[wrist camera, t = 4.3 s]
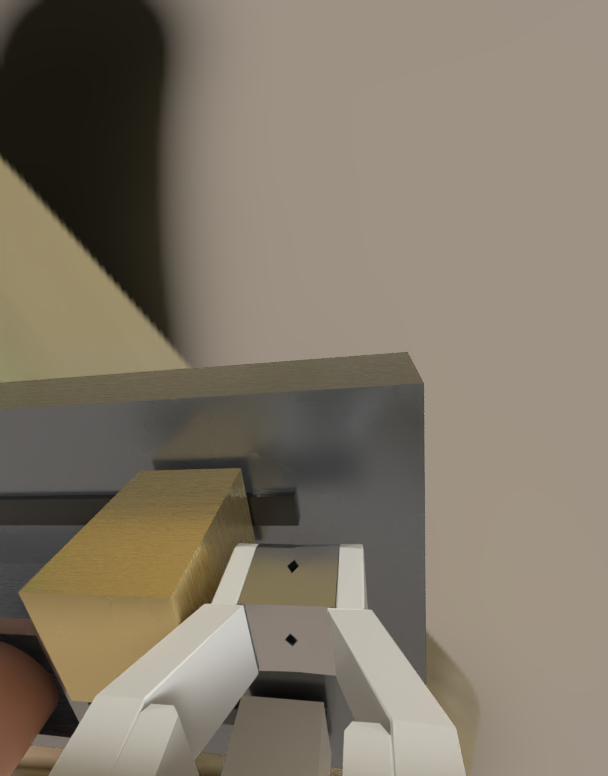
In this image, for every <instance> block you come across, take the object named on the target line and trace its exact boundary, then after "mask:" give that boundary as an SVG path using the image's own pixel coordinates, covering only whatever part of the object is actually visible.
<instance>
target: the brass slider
mask: <svg viewBox="0 0 608 776" xmlns="http://www.w3.org/2000/svg"><path fill="white" fill-rule="evenodd" d="M239 543H249V544H256V541H255V536H254V531H253V526H252V521H251V516H250V511H249V506H248V501H247V496H246V491H245V485H244V480H243V475H242V470H241V468H224V469H187V470H149V471H140V472H139V473H138V474H136V475H135V476H134V477H133V478H132V479H131V480H130V481H129V482H128V483H127V484H126V485H125V486H124V487H123V488H122V489H121V490H120V491H119V492H118V493H117V494H116V495H115V496H114V497H113V498H112V499H111V500H110V501H109V502H108V503H107V504H106V505H105V506H104V507H103V508H102V509H101V510H100V511H99V512H98V513H97V514H96V515H95V516H94V517H93V518H92V519H91V520H90V521H89V522H88V523H87V524H86V525H85V526H84V527H83V528H82V529H81V530H80V531H79V532H78V533H77V534H76V535H75V536H74V537H73V538H72V539H71V540H70V541H69V542H68V543H67V544H66V545H65V546H64V547H63V548H62V549H61V550H60V551H59V552H58V553H57V554H56V555H55V556H54V557H53V558H52V559H51V560H50V561H49V562H48V563H47V564H46V565H45V566H44V567H43V568H42V569H41V570H40V571H39V572H38V573H37V574H36V575H35V576H34V577H33V578H32V579H31V580H30V581H29V582H28V583H27V584H26V585H25V586H24V587H23V588H22V589H21V590H20V591H19V592H18V593H19V595H20V597H21V599H22V601H23V603H24V605H25V607H26V609H27V611H28V613H29V615H30V617H31V619H32V621H33V623H34V625H35V627H36V630H37V632H38V634H39V636H40V638H41V640H42V642H43V644H44V646H45V648H46V650H47V652H48V654H49V656H50V658H51V660H52V662H53V664H54V666H55V668H56V670H57V672H58V674H59V676H60V678H61V680H62V682H63V684H64V686H65V688H66V690H67V692H68V694H69V696H70V698H71V701H81V702H92V701H93V700H94V698H95V696H96V695H97V694H99V693H100V692H101V691H102V690H103V689H104V688H106V687H107V686H108V685H109V684H110V683H112V682H113V681H114V680H115V679H116V678H117V677H119V676H120V675H121V674H122V673H123V672H124V671H126V670H127V669H128V668H129V667H130V666H132V665H133V664H134V663H135V662H136V661H137V660H139V659H140V658H141V657H142V656H143V655H145V654H146V653H147V652H148V651H149V650H150V649H152V648H153V647H154V646H155V645H156V644H157V643H159V642H160V641H161V640H162V639H163V638H165V637H166V636H167V635H168V634H169V633H170V632H172V631H173V630H174V629H175V628H176V627H178V626H179V625H180V624H181V623H182V622H183V621H185V620H186V619H187V618H188V617H189V616H191V615H192V614H193V613H194V612H195V611H196V610H198V609H199V608H200V607H201V606H202V605H203V604H211V602H212V600H213V598H214V595H215V593H216V591H217V588H218V586H219V583H220V581H221V579H222V576H223V574H224V572H225V569H226V567H227V564H228V562H229V560H230V557H231V555H232V553H233V550H234V548H235V547H236V546H237V545H238V544H239Z"/></svg>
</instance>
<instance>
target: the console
mask: <svg viewBox="0 0 608 776" xmlns="http://www.w3.org/2000/svg"><path fill="white" fill-rule="evenodd" d="M224 468H241V470H242V475H243V480H244V485H245V491H246V496H247V501H248V506H249V511H250V516H251V521H252V526H253V531H254V536H255V541H256V544H260V543H265V544H295V545H298V544H362V545H363V549H364V562H365V576H366V590H367V604H368V610H372V611H373V612H374V613H375V615H376V616H377V618H378V619H379V621H380V622H381V623H382V625H383V626H384V628H385V629H386V630H387V632H388V633H389V635H390V636H391V637H392V639H393V640H394V642H395V643H396V644H397V646H398V647H399V649H400V650H401V651H402V653H403V654H404V656H405V657H406V658H407V660H408V661H409V663H410V664H411V665H412V667H413V668H414V670H415V671H416V673H417V674H418V675H419V677H420V678H421V680H422V681H423V682H424V684H425V685H426V623H425V622H426V612H425V476H424V475H425V472H424V383H423V381H422V379H421V377H420V375H419V373H418V371H417V369H416V367H415V365H414V363H413V362H412V360H411V358H410V356H409V354H408V352H401V353H388V354H375V355H362V356H349V357H336V358H323V359H310V360H296V361H283V362H270V363H258V364H244V365H230V366H218V367H205V368H191V369H178V370H165V371H152V372H139V373H125V374H112V375H99V376H86V377H73V378H60V379H47V380H34V381H21V382H7V383H0V641H2V642H5V643H7V644H10V645H12V646H14V647H16V648H18V649H19V650H21V651H23V652H25V653H26V654H28V655H29V656H31V657H32V658H33V659H34V660H36V661H37V662H38V663H39V664H40V665H41V666H42V667H43V668H44V669H45V670H46V671H47V672H48V673H49V675H50V676H51V677H52V679H53V681H54V682H55V684H56V687H57V689H58V693H59V700H58V704H57V707H56V708H55V710H54V711H53V713H52V714H51V716H50V717H49V719H48V720H47V722H46V723H45V725H44V726H43V728H42V729H41V731H40V732H39V734H38V735H37V737H36V738H35V740H34V741H33V743H32V744H31V745H37V746H46V747H54V748H63V749H64V748H65V747H66V745H67V743H68V742H69V740H70V738H71V737H72V735H73V733H74V732H75V730H76V728H77V727H78V725H79V723H80V722H81V720H82V718H83V717H84V715H85V713H86V712H87V710H88V708H89V706H90V705H91V703H92V702H81V701H71V698H70V696H69V694H68V692H67V690H66V688H65V686H64V684H63V682H62V680H61V678H60V676H59V674H58V672H57V670H56V668H55V666H54V664H53V662H52V660H51V658H50V656H49V654H48V652H47V650H46V648H45V646H44V644H43V642H42V640H41V638H40V636H39V634H38V632H37V630H36V627H35V625H34V623H33V621H32V619H31V617H30V615H29V613H28V611H27V609H26V607H25V605H24V603H23V601H22V599H21V597H20V595H19V593H18V592H19V591H20V590H21V589H22V588H23V587H24V586H25V585H26V584H27V583H28V582H29V581H30V580H31V579H32V578H33V577H34V576H35V575H36V574H37V573H38V572H39V571H40V570H41V569H42V568H43V567H44V566H45V565H46V564H47V563H48V562H49V561H50V560H51V559H52V558H53V557H54V556H55V555H56V554H57V553H58V552H59V551H60V550H61V549H62V548H63V547H64V546H65V545H66V544H67V543H68V542H69V541H70V540H71V539H72V538H73V537H74V536H75V535H76V534H77V533H78V532H79V531H80V530H81V529H82V528H83V527H84V526H85V525H86V524H87V523H88V522H89V521H90V520H91V519H92V518H93V517H94V516H95V515H96V514H97V513H98V512H99V511H100V510H101V509H102V508H103V507H104V506H105V505H106V504H107V503H108V502H109V501H110V500H111V499H112V498H113V497H114V496H115V495H116V494H117V493H118V492H119V491H120V490H121V489H122V488H123V487H124V486H125V485H126V484H127V483H128V482H129V481H130V480H131V479H132V478H133V477H134V476H135V475H136V474H138V473H139V472H140V471H149V470H187V469H224ZM258 673H259V674H258V675H257V676H256V678H255V679H254V681H253V682H252V683H251V685H250V686H249V687H248V689H247V690H246V692H245V693H244V694H243V696H255V697H267V698H279V699H291V700H303V701H315V702H324V708H325V715H326V722H327V728H328V735H329V742H330V749H331V767H334V768H343V748H344V730H345V729H346V728H347V727H348V726H349V725H350V723H351V722H352V721H355V719H354V716H353V714H352V712H351V710H350V707H349V705H348V703H347V701H346V699H345V696H344V694H343V692H342V690H341V687H340V685H339V683H338V681H337V678H336V676H334V675H324V674H314V673H303V672H287V671H258ZM240 700H241V698H240ZM240 700H239V701H238V702H237V704H236V705H235V707H234V708H233V709H232V711H231V712H230V713H229V715H228V716H227V718H226V719H225V720H224V722H223V723H222V724H221V726H220V727H219V729H218V730H217V731H216V733H215V734H214V735H213V737H212V738H211V739H210V741H209V742H208V744H207V745H206V746H205V748H204V749H203V750H202V752H201V753H210V754H218V755H226V754H227V750H228V746H229V742H230V738H231V734H232V731H233V727H234V723H235V719H236V715H237V712H238V708H239V704H240ZM355 722H356V721H355Z"/></svg>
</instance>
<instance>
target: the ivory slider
mask: <svg viewBox="0 0 608 776" xmlns="http://www.w3.org/2000/svg"><path fill="white" fill-rule="evenodd" d="M330 771H331V749H330V742H329V735H328V728H327V722H326V715H325V708H324V702H315V701H303V700H291V699H279V698H267V697H255V696H242V697H241V700H240V704H239V708H238V712H237V715H236V719H235V723H234V727H233V731H232V734H231V738H230V742H229V746H228V750H227V754H226V757H225V761H224V765H223V769H222V773H221V776H330Z"/></svg>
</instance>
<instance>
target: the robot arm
mask: <svg viewBox="0 0 608 776" xmlns="http://www.w3.org/2000/svg"><path fill="white" fill-rule="evenodd" d="M258 671H287V672H303V673H314V674H324V675H334V676H336V678H337V681H338V683H339V685H340V687H341V690H342V692H343V694H344V696H345V699H346V701H347V703H348V705H349V707H350V710H351V712H352V714H353V716H354V719H355V721H356V722H355V721H352V722H351V723H350V725H349V726H348V727H347V728H346V729H345V730H344V748H343V774H342V776H466V773H465V768H464V764H463V759H462V754H461V750H460V745H459V740H458V735H457V731H456V727H455V726H454V725H453V723H452V722H451V720H450V719H449V717H448V716H447V715H446V713H445V712H444V710H443V709H442V708H441V706H440V705H439V703H438V702H437V701H436V699H435V698H434V696H433V695H432V694H431V692H430V691H429V689H428V688H427V687H426V685H425V684H424V682H423V681H422V680H421V678H420V677H419V675H418V674H417V673H416V671H415V670H414V668H413V667H412V665H411V664H410V663H409V661H408V660H407V658H406V657H405V656H404V654H403V653H402V651H401V650H400V649H399V647H398V646H397V644H396V643H395V642H394V640H393V639H392V637H391V636H390V635H389V633H388V632H387V630H386V629H385V628H384V626H383V625H382V623H381V622H380V621H379V619H378V618H377V616H376V615H375V613H374V612H373V611H372V610H368V604H367V590H366V576H365V562H364V549H363V545H362V544H298V545H295V544H265V543H260V544H249V543H239V544H238V545H237V546H236V547H235V548H234V550H233V553H232V555H231V557H230V560H229V562H228V564H227V567H226V569H225V572H224V574H223V576H222V579H221V581H220V583H219V586H218V588H217V591H216V593H215V595H214V598H213V600H212V602H211V604H203V605H202V606H201V607H200V608H199V609H198V610H196V611H195V612H194V613H193V614H192V615H191V616H189V617H188V618H187V619H186V620H185V621H183V622H182V623H181V624H180V625H179V626H178V627H176V628H175V629H174V630H173V631H172V632H170V633H169V634H168V635H167V636H166V637H165V638H163V639H162V640H161V641H160V642H159V643H157V644H156V645H155V646H154V647H153V648H152V649H150V650H149V651H148V652H147V653H146V654H145V655H143V656H142V657H141V658H140V659H139V660H137V661H136V662H135V663H134V664H133V665H132V666H130V667H129V668H128V669H127V670H126V671H124V672H123V673H122V674H121V675H120V676H119V677H117V678H116V679H115V680H114V681H113V682H112V683H110V684H109V685H108V686H107V687H106V688H104V689H103V690H102V691H101V692H100V693H99V694H97V695H96V696H95V698H94V700H93V701H92V703H91V705H90V706H89V708H88V710H87V712H86V713H85V715H84V717H83V718H82V720H81V722H80V723H79V725H78V727H77V728H76V730H75V732H74V733H73V735H72V737H71V738H70V740H69V742H68V743H67V745H66V747H65V748H64V750H63V752H62V753H61V755H60V757H59V758H58V760H57V762H56V764H55V765H54V767H53V769H52V770H51V772H50V774H49V775H48V776H199V773H198V770H197V767H196V764H195V760H196V759H197V757H198V756H199V755H200V753H201V752H202V750H203V749H204V748H205V746H206V745H207V744H208V742H209V741H210V739H211V738H212V737H213V735H214V734H215V733H216V731H217V730H218V729H219V727H220V726H221V724H222V723H223V722H224V720H225V719H226V718H227V716H228V715H229V713H230V712H231V711H232V709H233V708H234V707H235V705H236V704H237V702H238V701H239V700H240V698H241V697H242V696H243V694H244V693H245V692H246V690H247V689H248V687H249V686H250V685H251V683H252V682H253V681H254V679H255V678H256V676H257V675H258V674H259V673H258Z"/></svg>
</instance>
